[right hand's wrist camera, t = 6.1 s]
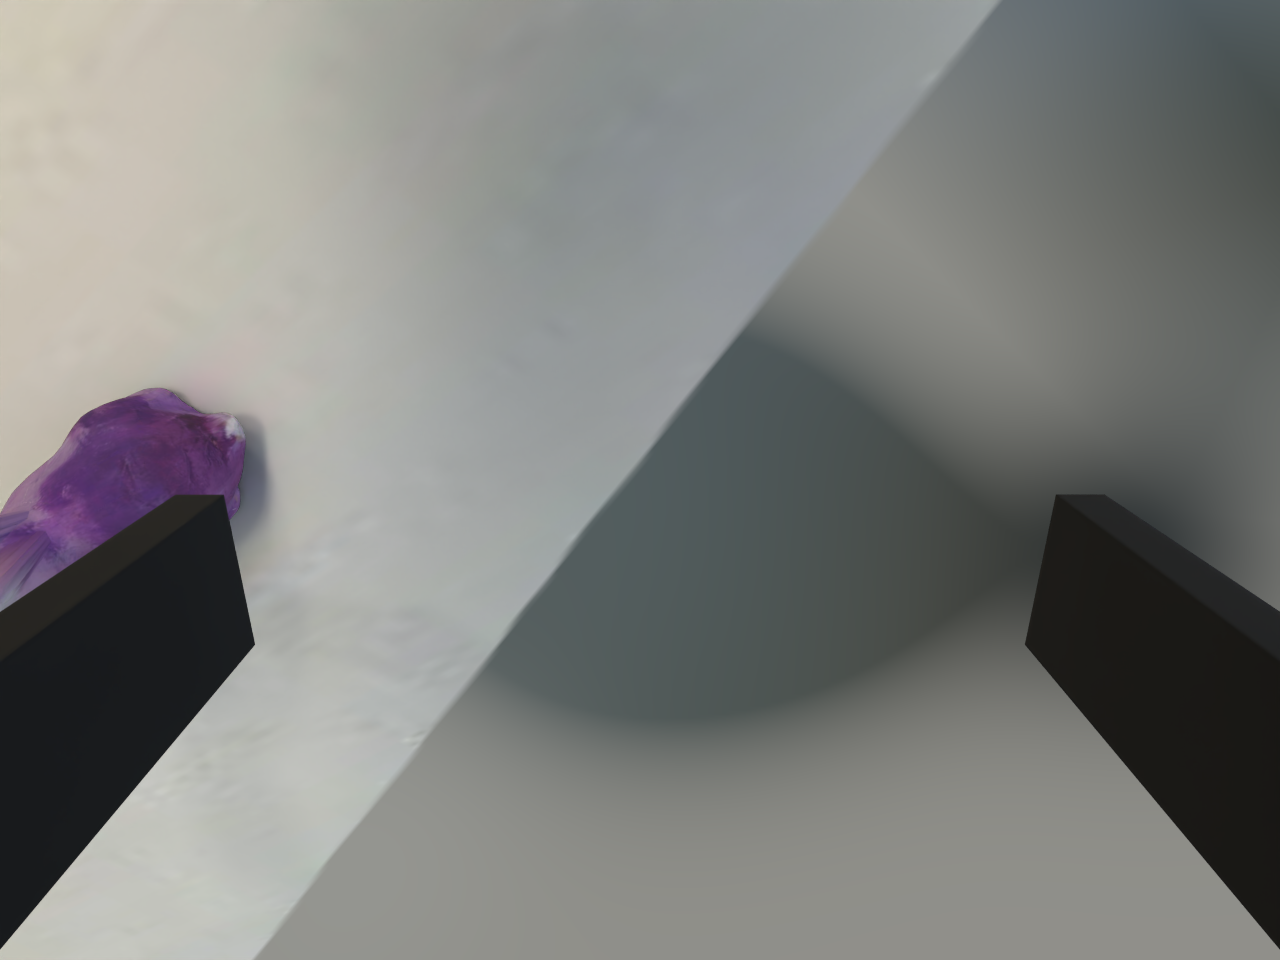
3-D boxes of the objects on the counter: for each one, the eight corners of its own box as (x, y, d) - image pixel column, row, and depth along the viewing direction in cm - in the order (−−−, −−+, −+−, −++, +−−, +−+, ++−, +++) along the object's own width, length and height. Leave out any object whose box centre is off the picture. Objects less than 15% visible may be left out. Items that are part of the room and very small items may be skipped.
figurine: (80, 541, 43) (-191, 714, 29) (75, 364, 39) (-236, 464, 25) (252, 575, 44) (70, 760, 30) (263, 405, 40) (62, 524, 26)
